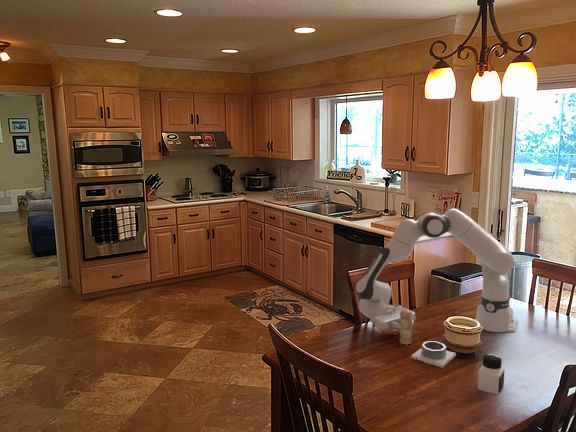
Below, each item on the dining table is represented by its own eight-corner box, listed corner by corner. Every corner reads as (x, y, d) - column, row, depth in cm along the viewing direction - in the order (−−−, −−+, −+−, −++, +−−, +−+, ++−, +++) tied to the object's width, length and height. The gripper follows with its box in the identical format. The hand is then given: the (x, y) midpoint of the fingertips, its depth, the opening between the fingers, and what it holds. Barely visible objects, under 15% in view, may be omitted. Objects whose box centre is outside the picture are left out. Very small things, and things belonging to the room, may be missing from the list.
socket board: (425, 347, 204) (426, 336, 203) (455, 355, 195) (456, 344, 194) (411, 358, 194) (411, 346, 193) (442, 367, 185) (442, 356, 185)
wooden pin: (403, 339, 212) (403, 309, 209) (413, 342, 208) (414, 311, 206) (397, 343, 208) (398, 312, 206) (408, 346, 205) (408, 315, 202)
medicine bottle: (498, 395, 165) (500, 363, 163) (477, 389, 169) (478, 357, 167) (503, 386, 171) (505, 355, 169) (483, 381, 175) (484, 350, 173)
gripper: (367, 313, 212) (389, 323, 200) (402, 304, 222) (424, 313, 210) (367, 326, 213) (389, 337, 201) (402, 317, 223) (424, 326, 212)
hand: (407, 325), depth 206 cm, fingers closed on wooden pin, 5 cm apart
